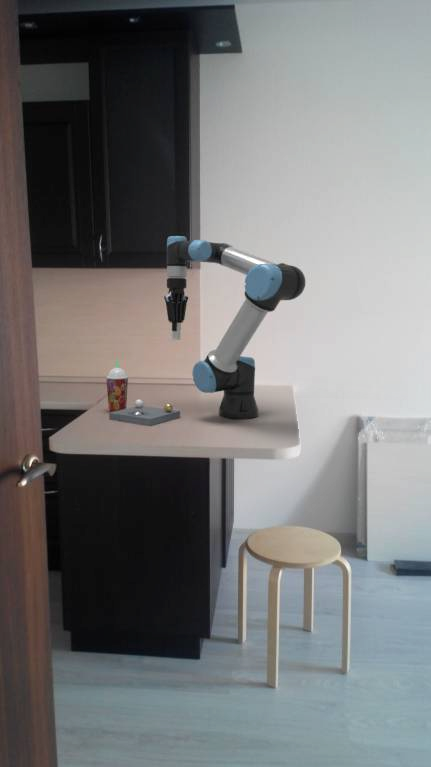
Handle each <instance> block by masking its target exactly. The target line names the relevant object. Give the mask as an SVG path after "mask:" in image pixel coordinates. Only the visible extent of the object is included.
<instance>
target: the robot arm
mask: <svg viewBox="0 0 431 767" xmlns="http://www.w3.org/2000/svg"><path fill="white" fill-rule="evenodd" d="M166 242H167V243H166V277H167V278H166V288H167V289H168V291H167V292H168V293H167V295H164V298H163V299H164V302H165V305H166V306H165V308H166V314H167V320H168V322H169V323H170V324H171V331H172V332H171V333H172V336H171V339H172V341H173V340H175V341H176V340H177V341H180V340H181V329H182V328H181V324H182V323H184V321H185V319H186V318H185V317H186V309H187V305H188V304H187V303H188V300H189V296H186V294H185V289H186V288H187V272H188V269H187V267H188V266H187V263H188V262H190V263H191V262H199V263H213V264H218V265H220V266H223V267H226V268H228V269H230V270H233V271H236V272H238V273H241V274H242V275H246V276H245V279H244V284H245V285H244V290H245V291H244V297H245V299H244V301H243V303H242V305H241V306H240V308H239V309H238V311H237V313H236V315H235V316H234V318H233V320H232V322H231V323H230V324H229V326H228V328H227V330H226V332H225V333H224V335H223V337H222V338H221V340H220V341H219V344H218V346H217V347H216V349H212V350H210V351H209V352H208V354H207V356H206V357H205V359H204V360H199V361H197V362H196V363H195V364H194V366H193V367H192V378H193V379H192V380H193V383H194V385H195V387H196V388H197V389H198V391H200V392H202V393H204V394H206V393H208V394H209V393H210V394H212V393H217V392H218V393H219V392H223V397H222V399H221V403H220V406H219V408H218V416H220V417H222V418H226V419H237V420H238V419H240V420H243V419H244V420H245V419H253V418H257V417H259V409H258V405H257V401H256V397H255V378H256V377H255V376H256V374H255V373H256V365H255V364H256V363H255V359H254V357H251V356H244V355H242V354H243V352H244V350H245V349H246V347H247V346H248V345H249V343H250V341H251V339H252V338H253V337H254V335H255V333H256V331H257V330H258V328H259V326H260V325H261V324H262V322H263V320H264V319H265V317H266V315H267V314H268V313H271V312H274V311H275V310H276V308H277V307H278V305H279V303H280V302H281V301H292V300H295V299H296V298H298V297H300V296H301V294H303V292H304V290H305V288H306V277H305V275H304V273H303V272H304V271H302V270H301V269H300V268H298V267H297V266H294V265H292V264H291V265H289V264H286V263H282V262H280V263H275V262H273V261H269V260H267V259H264V258H262V257H259V256H256V255H253V254H250V253H247V252H245V251H242V250H240V249H237V248H234V247H233V245H231V244H229V243H225V242H224V243H221V242H220V243H219V242H212V241H208V240H205V239H195V240H188V239H187V237H186V236H183V235H181V236H180V235H175V236H174V235H171V236H168V237H167V240H166Z"/></svg>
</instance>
